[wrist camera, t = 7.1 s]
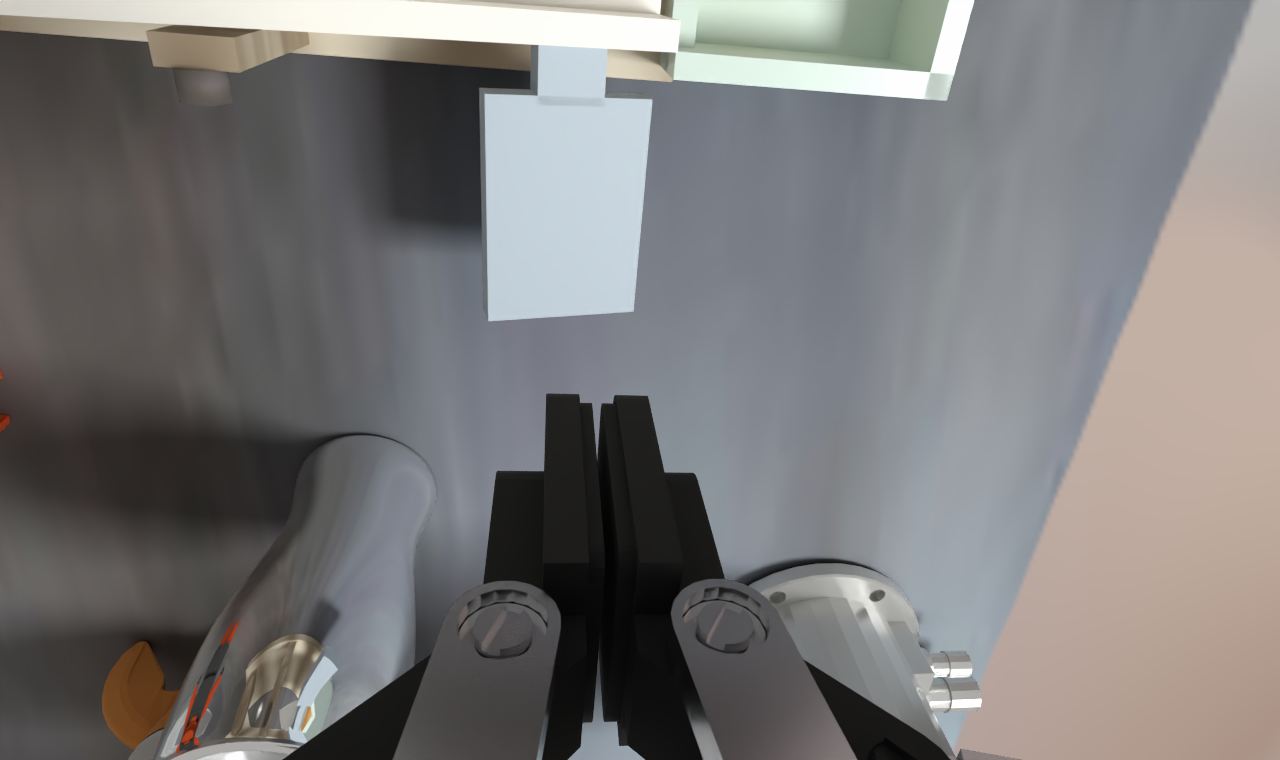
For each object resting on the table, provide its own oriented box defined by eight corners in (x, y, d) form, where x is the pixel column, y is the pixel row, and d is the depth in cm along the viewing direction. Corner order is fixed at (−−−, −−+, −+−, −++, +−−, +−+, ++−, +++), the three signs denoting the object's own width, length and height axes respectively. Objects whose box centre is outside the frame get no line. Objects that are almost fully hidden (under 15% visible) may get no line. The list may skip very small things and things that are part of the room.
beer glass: (255, 457, 33) (65, 790, 20) (399, 403, 32) (300, 709, 19) (341, 563, 36) (228, 904, 23) (472, 516, 36) (431, 839, 23)
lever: (643, -200, 21) (720, -232, 17) (609, 280, 28) (657, 342, 24) (-641, -423, 13) (-1103, -588, 9) (-234, 323, 20) (-382, 427, 16)
